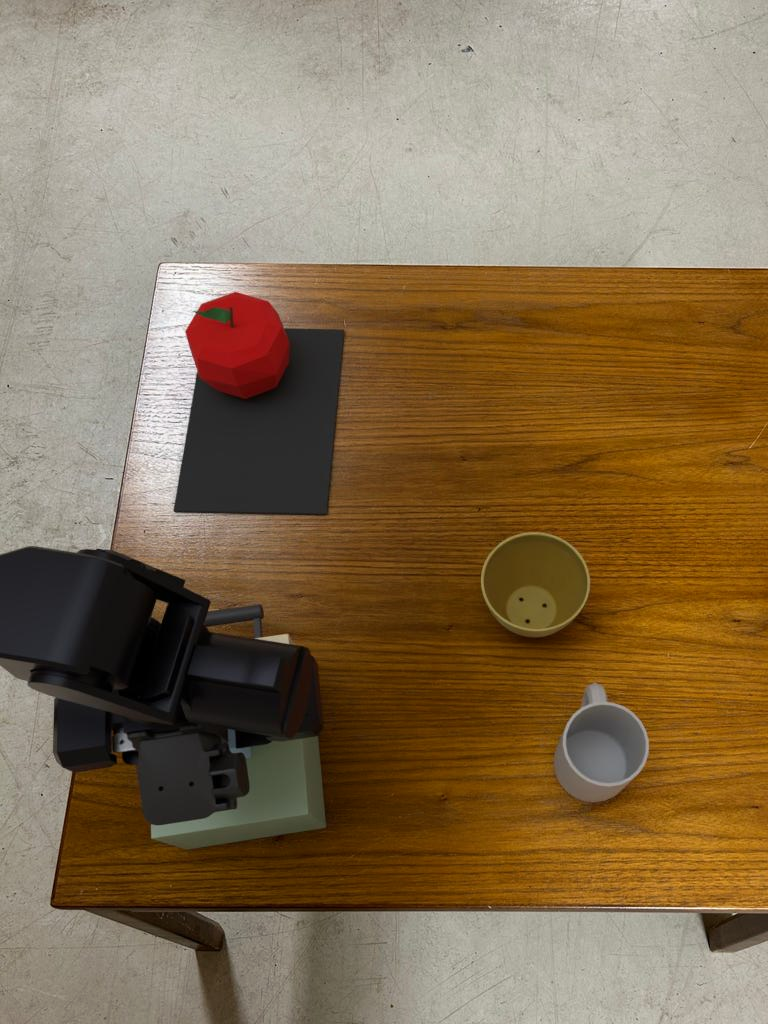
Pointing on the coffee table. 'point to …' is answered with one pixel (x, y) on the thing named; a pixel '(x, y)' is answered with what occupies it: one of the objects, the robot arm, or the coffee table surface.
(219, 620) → the drawer
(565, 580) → the flower pot
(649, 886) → the coffee table surface
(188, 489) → the mat
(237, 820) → the cabinet
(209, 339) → the apple
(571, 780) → the cup
